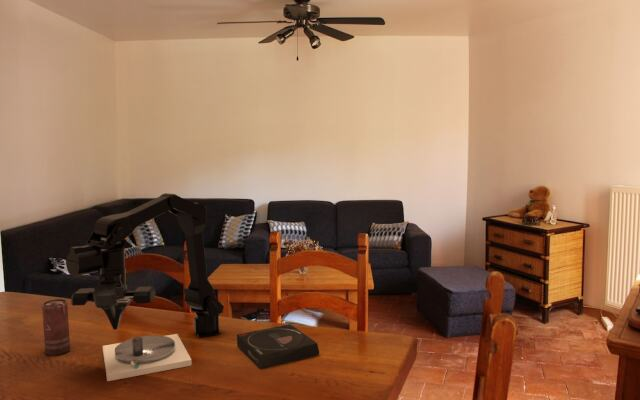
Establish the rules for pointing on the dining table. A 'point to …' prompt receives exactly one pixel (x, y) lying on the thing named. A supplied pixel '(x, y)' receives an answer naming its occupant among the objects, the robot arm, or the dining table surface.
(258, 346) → the portable cd player
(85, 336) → the dining table surface
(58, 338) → the can
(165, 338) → the dial
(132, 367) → the board
